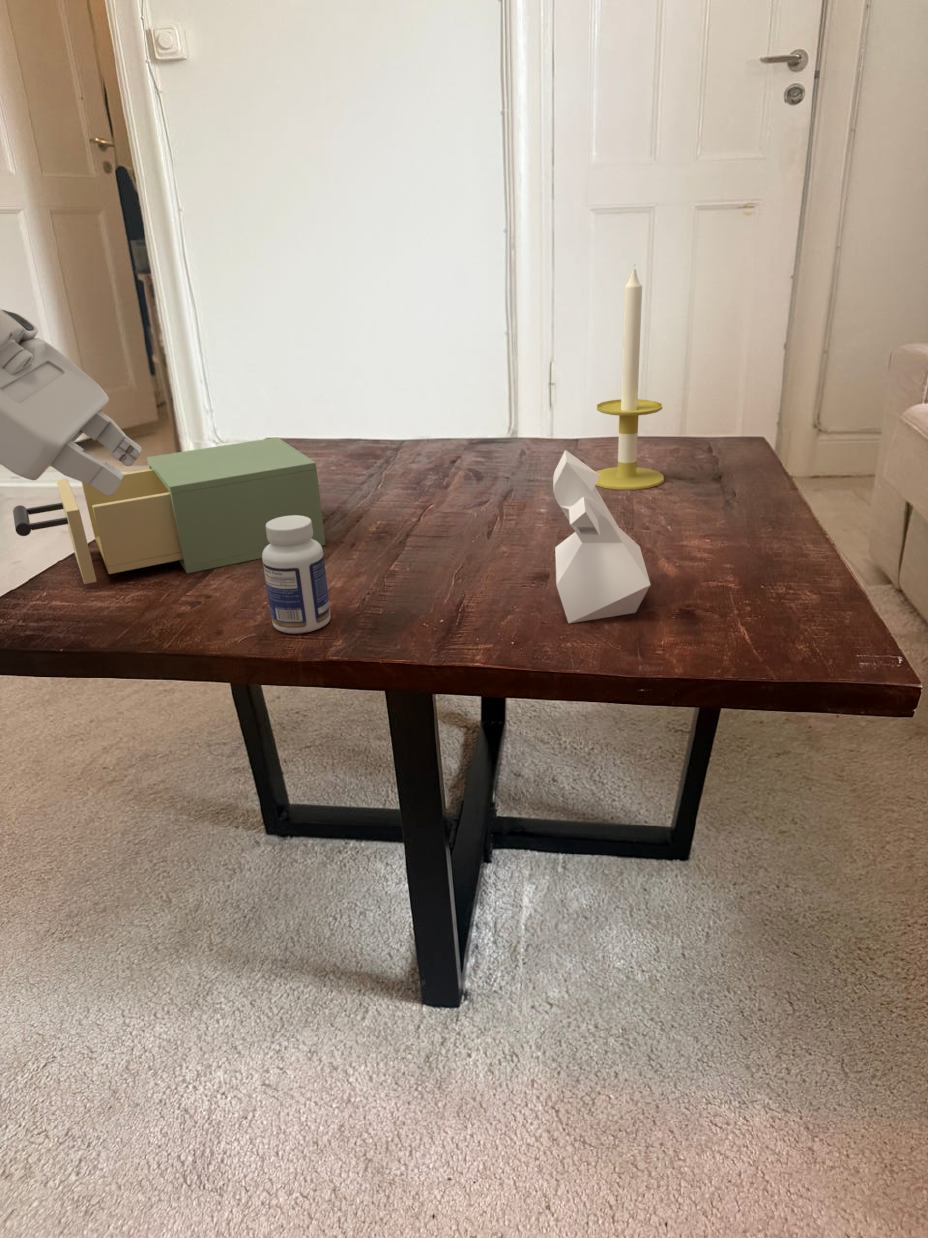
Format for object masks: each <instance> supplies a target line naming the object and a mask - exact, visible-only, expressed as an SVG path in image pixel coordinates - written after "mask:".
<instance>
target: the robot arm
mask: <svg viewBox="0 0 928 1238" xmlns="http://www.w3.org/2000/svg"><path fill="white" fill-rule="evenodd" d="M38 333H39V328H38V327H37V326H36V325H35V324H34V323H32V322H31V321H29V320H28V319H27V318H26V317H24V316H23V315H21V314H19V313H16V312H12V311H8V310H5V309H2V308H0V465H1V466H3V467H4V468H5V469H7V470H8V471H10V472H11V473H13V474H15V475H16V476H19V477H20V478H24V479H26V480H30V481H37V480H39V479H40V477H41V476H42V475H43V474H44V473H45V472H46V471H47V470H48V469H49V468H50V467H52V468H53V469H55V470H56V471H58V472H59V473H60V474H62V475H63V476H65V477H68V478H70V479H73V480H76V481H78V482H80V483H82V482H84V483H86V484H90V485H91V486H93V487H94V488H96V489H97V490H99V491H100V492H102V493H103V494H105V495H107V496H110V495H113V494H114V492H115V491H116V490H117V488H118V487H119V486H120V485H121V483H122V481H123V479H124V476H123V473H124V472H122V471H120V470H118V469H117V468H115V467H114V466H113V465H112V464H110V463H109V462H107V461H105V463H104V462H101V461H100V460H98V459H96V458H95V457H92V456H91V455H90V454H88V453H86V452H84V448H82V446H80V445H78V444H77V443H75V442H76V441H77V440H78V439H79V438H80V436H82V434H84V435H86V436H87V437H89V438H90V439H92V441H98V442H99V443H100V444H101V445H102V446H103V447H104V448H106V449H107V450H108V451H109V452H111V457H113V458H114V459H116V460H117V461H119V462H121V463H122V465H124V466H126V467H130V466H133V464H134V463H135V462H136V460H137V459H138V458H139V457H140V456H141V453H142V451H143V449H142V446H141V445H139V444H138V443H137V442H135V440H133V439H131V437H129V436H127V435H126V433H125V432H124V430H122V429H121V428H120V426H119V425H118V424H117V423H116V422H115V421H114V419H112V418H111V417H110V416H108V415H107V414H106V413H104V412H103V410H104V408H105V407H106V406H107V404H108V403H109V401H110V398H109V396H108V393H106V392H105V391H104V389H103V388H102V387H101V386H100V385H99V384H98V383H97V382H96V381H95V380H94V379H93V378H92V377H90V376H89V375H88V374H87V373H86V372H85V371H83V369H81V368H80V367H79V366H78V365H76V364H75V363H74V362H73V361H71V360H70V359H69V358H68V357H67V356H66V355H64V354H63V353H62V352H61V351H59V350H58V349H56V347H54V346H53V345H51V344H50V343H48V342H47V341H45V340H44V339H42V338H38V337H36V336H37V335H38Z"/></svg>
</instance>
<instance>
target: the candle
mask: <svg viewBox="0 0 928 1238" xmlns="http://www.w3.org/2000/svg"><path fill="white" fill-rule="evenodd" d="M635 267H636V264H635V263H633V268H632V269H631V274H630V277H629V280H628V282H627V284H626V285H625V286H624V303H623V333H622V335H623V336H622V340H623V341H622V366H621V367H622V368H621V371H622V372H621V394H620V399H610V400H607V401H601V402H600V403H597V404H596V411H597V412H600V413H601V414H605V415H611V416H618V417H619V418H618V446H617V448H618V449H617V466H614V467H607V468H603V469H599V470H596V471H595V472H596V473H598V474H599V475H600V477H599V479H598V481H597V483H596V485H595V486H597V487H600V488H604V489H609V490H618V491H635V490H637V491H638V490H644V489H652V488H654V487H658V486H660V485H661V484H662V483H664V482H665V477H664V474H663V473H661V472H659V471H657V470H655V469H651V468H646V467H638V466H637V462H638V461H637V459H638V439H639V438H638V437H639V436H638V435H639V416H646V415H651V414H656V413H658V412H660V411H662V410H663V404H662V403H661V402H659V401H655V400H651V399H639V375H640V374H639V373H640V352H641V350H640V349H641V328H642V327H641V326H642V325H641V323H642V303H643V302H642V301H643V300H642V299H643V285H642V284H641V282H640V281H639V277H638V274H637V269H636V268H635Z"/></svg>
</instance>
